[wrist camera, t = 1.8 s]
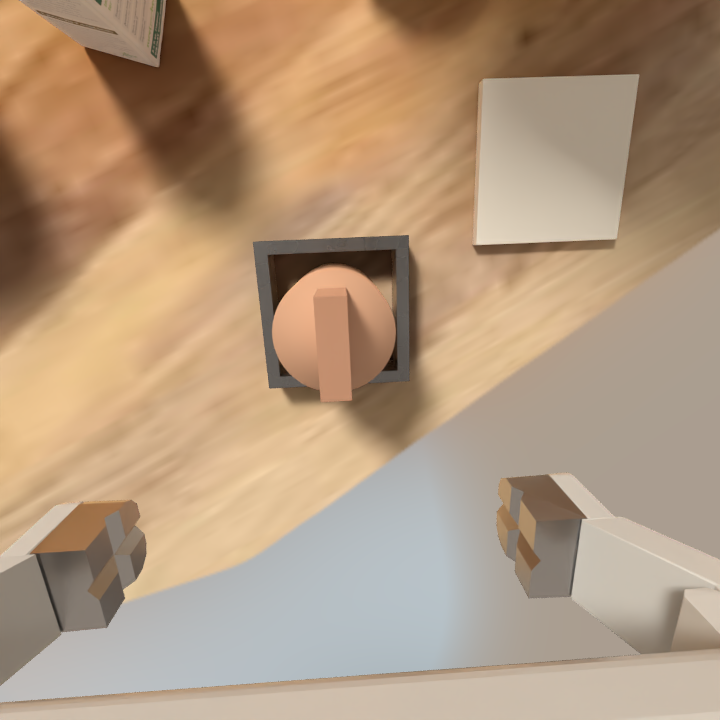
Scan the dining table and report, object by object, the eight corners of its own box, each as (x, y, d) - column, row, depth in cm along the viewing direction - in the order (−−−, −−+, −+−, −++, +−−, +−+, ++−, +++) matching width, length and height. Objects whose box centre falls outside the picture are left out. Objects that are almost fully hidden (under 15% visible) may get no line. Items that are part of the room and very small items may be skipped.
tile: (478, 83, 31) (483, 78, 30) (630, 79, 32) (639, 74, 31) (472, 244, 35) (476, 245, 34) (609, 239, 35) (616, 238, 34)
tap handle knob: (286, 264, 34) (252, 280, 21) (379, 260, 35) (404, 274, 21) (294, 355, 37) (268, 420, 23) (382, 350, 37) (405, 413, 24)
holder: (260, 241, 34) (252, 241, 31) (402, 235, 34) (408, 235, 31) (274, 377, 37) (269, 388, 34) (404, 370, 38) (409, 381, 35)
